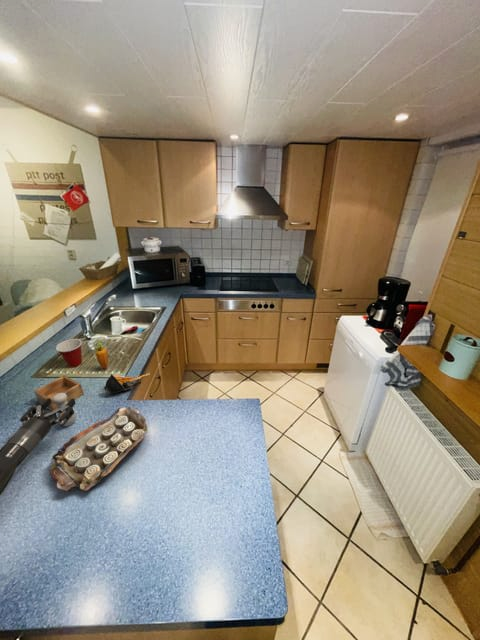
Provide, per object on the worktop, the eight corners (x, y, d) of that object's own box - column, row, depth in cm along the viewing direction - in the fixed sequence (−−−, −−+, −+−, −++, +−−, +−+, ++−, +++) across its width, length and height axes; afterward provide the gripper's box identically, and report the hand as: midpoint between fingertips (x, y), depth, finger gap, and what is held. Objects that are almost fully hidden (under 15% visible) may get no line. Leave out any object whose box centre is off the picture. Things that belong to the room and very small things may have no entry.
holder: (54, 412, 99) (49, 401, 96) (38, 401, 104) (33, 391, 101) (84, 394, 108) (80, 384, 106) (67, 385, 113) (64, 375, 111)
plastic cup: (58, 372, 122) (51, 351, 117) (67, 359, 131) (61, 339, 126) (83, 369, 124) (76, 348, 119) (90, 357, 134) (84, 337, 128)
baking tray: (81, 512, 67) (76, 500, 65) (38, 474, 76) (32, 462, 74) (162, 432, 91) (160, 421, 89) (122, 409, 100) (119, 399, 98)
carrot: (108, 372, 122) (102, 345, 116) (98, 372, 122) (90, 346, 116) (112, 366, 127) (106, 340, 120) (102, 366, 126) (95, 340, 120)
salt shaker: (80, 415, 97) (71, 389, 92) (74, 427, 92) (64, 400, 87) (63, 417, 96) (53, 391, 91) (56, 429, 91) (45, 402, 86)
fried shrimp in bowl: (97, 381, 109) (133, 354, 118) (114, 399, 112) (147, 372, 121) (101, 385, 101) (138, 356, 110) (118, 404, 105) (153, 375, 114)
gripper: (47, 429, 74) (78, 392, 89) (-2, 429, 74) (38, 391, 89) (54, 447, 77) (84, 408, 92) (8, 446, 77) (45, 407, 92)
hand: (61, 400), depth 90 cm, fingers open, 8 cm apart
